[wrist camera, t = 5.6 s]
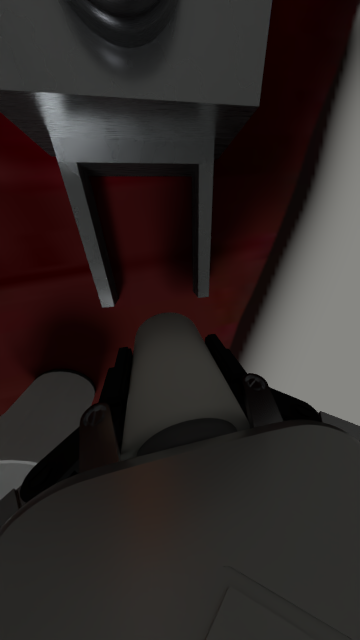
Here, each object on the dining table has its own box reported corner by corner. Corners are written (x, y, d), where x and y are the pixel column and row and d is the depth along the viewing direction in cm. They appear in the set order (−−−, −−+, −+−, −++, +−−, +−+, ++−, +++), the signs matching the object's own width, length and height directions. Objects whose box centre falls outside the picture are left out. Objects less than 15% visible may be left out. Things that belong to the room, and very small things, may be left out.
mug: (97, 366, 22) (58, 454, 13) (100, 407, 25) (71, 497, 16) (3, 365, 19) (-129, 472, 10) (21, 410, 23) (-64, 518, 14)
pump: (128, 317, 12) (94, 461, 4) (198, 308, 13) (278, 416, 5) (143, 379, 15) (138, 524, 7) (197, 369, 16) (244, 491, 8)
